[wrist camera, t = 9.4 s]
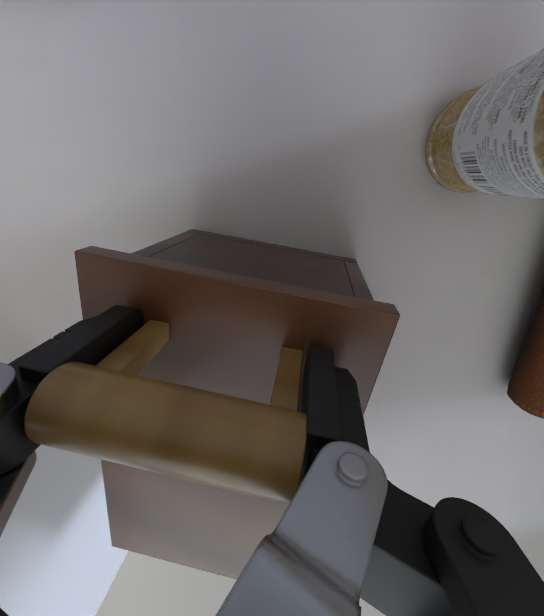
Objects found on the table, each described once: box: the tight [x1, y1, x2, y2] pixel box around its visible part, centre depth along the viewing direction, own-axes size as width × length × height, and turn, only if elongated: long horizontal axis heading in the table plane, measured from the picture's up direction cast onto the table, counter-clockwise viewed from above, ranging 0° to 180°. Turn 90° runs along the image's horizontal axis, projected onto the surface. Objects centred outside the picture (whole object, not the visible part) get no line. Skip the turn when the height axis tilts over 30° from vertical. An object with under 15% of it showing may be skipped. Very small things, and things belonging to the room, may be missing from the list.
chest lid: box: [24, 246, 400, 579], centre depth 11 cm, size 16×10×5 cm, turn 171°
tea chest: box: [131, 229, 374, 301], centre depth 17 cm, size 16×10×9 cm, turn 171°
